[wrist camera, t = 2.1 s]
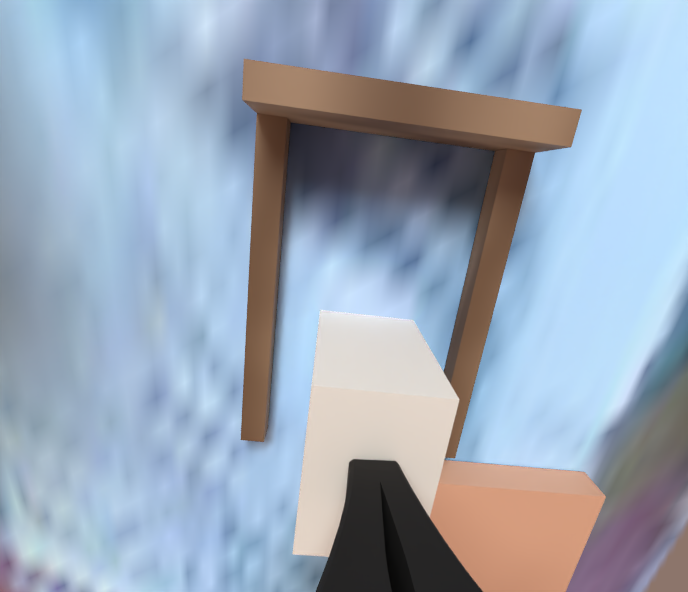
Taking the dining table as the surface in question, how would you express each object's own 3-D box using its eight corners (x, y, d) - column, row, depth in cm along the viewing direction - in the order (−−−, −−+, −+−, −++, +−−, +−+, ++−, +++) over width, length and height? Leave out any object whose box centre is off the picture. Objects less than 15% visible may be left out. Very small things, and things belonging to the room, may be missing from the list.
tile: (584, 471, 18) (605, 496, 17) (539, 586, 20) (554, 616, 19) (427, 458, 18) (436, 483, 16) (399, 577, 20) (405, 608, 18)
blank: (413, 319, 15) (459, 399, 10) (390, 436, 17) (418, 562, 11) (320, 309, 15) (311, 385, 9) (306, 429, 17) (292, 554, 11)
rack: (528, 125, 13) (581, 109, 10) (448, 442, 17) (470, 494, 14) (264, 87, 13) (243, 58, 10) (246, 425, 17) (227, 475, 14)
